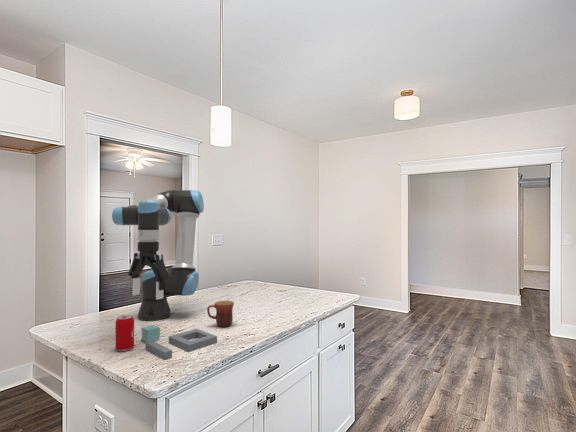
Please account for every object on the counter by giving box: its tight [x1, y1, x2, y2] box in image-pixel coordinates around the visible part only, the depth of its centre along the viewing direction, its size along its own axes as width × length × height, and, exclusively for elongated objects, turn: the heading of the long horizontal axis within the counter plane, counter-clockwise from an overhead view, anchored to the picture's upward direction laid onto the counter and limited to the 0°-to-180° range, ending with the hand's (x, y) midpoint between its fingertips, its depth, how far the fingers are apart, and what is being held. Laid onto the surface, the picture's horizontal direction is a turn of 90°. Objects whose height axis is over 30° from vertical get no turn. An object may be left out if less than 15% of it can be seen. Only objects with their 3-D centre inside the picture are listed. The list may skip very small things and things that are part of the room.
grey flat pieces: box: [145, 328, 218, 360], centre depth 129 cm, size 14×22×2 cm, turn 139°
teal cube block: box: [141, 324, 161, 343], centre depth 135 cm, size 5×5×5 cm
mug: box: [206, 300, 235, 328], centre depth 154 cm, size 12×9×10 cm
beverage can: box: [114, 314, 135, 352], centre depth 126 cm, size 6×6×12 cm
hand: (147, 296), depth 129 cm, fingers open, 13 cm apart
